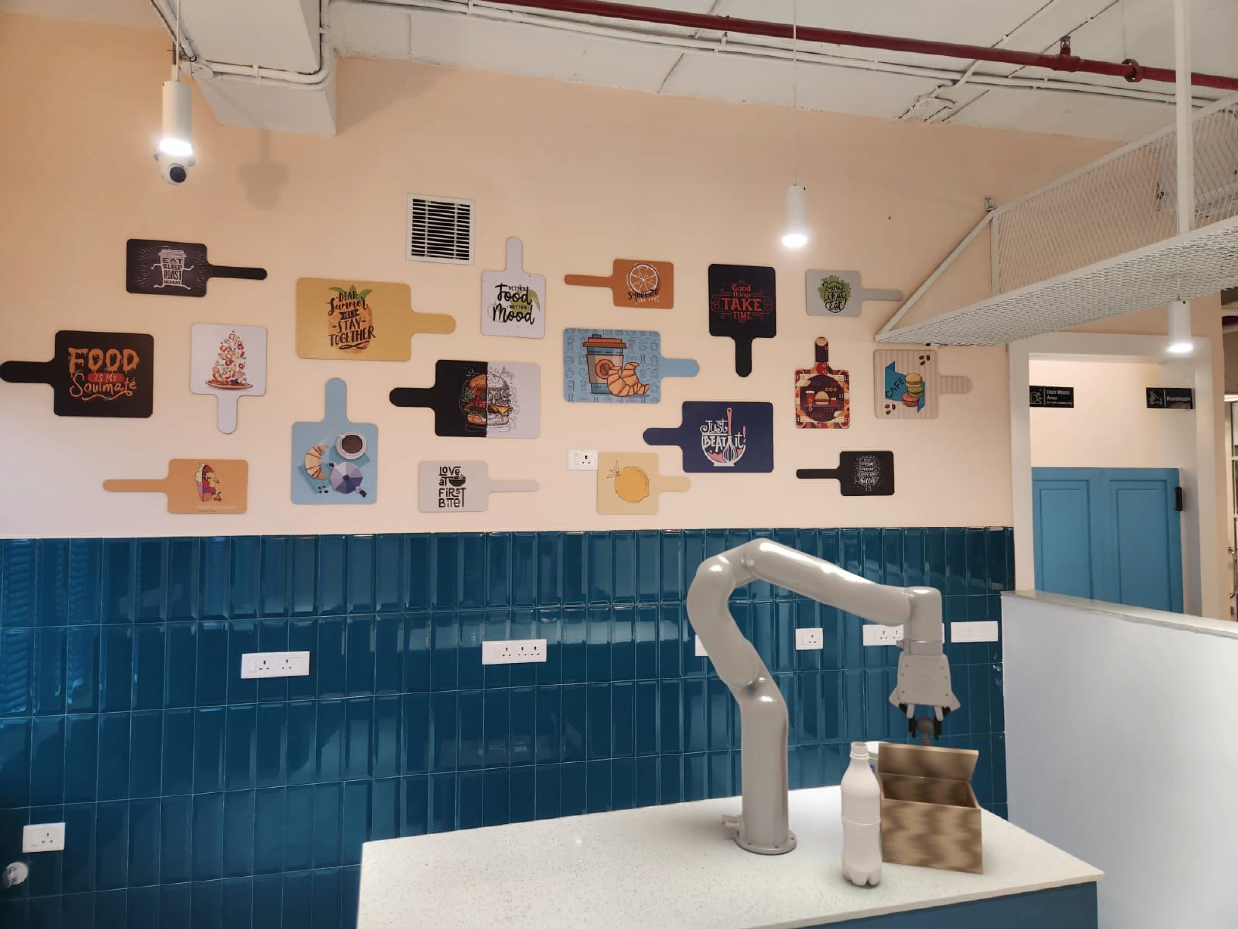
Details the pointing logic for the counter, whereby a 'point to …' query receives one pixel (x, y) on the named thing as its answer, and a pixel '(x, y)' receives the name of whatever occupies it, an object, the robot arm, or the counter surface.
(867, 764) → the water bottle
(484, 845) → the counter surface
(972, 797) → the wooden box
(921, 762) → the lid
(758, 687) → the robot arm
